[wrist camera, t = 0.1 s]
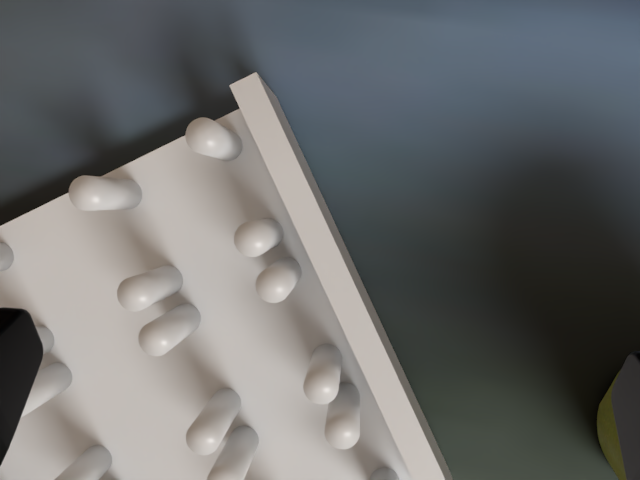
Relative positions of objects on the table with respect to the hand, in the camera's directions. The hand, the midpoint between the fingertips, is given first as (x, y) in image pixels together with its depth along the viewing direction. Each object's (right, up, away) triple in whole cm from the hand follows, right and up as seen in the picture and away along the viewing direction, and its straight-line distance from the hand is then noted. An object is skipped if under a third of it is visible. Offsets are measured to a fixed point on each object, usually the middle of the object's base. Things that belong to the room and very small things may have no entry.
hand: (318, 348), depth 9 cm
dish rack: (-7, -4, +16) cm, 18 cm away
